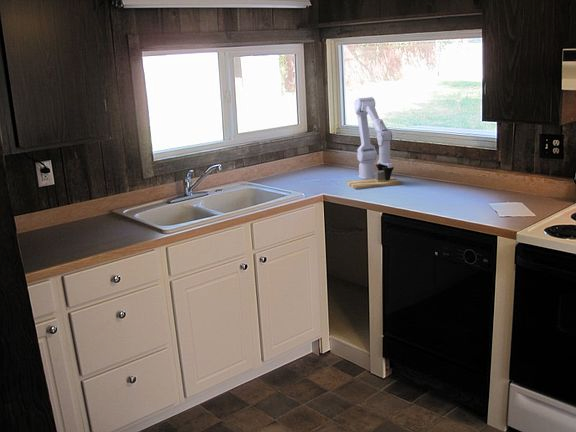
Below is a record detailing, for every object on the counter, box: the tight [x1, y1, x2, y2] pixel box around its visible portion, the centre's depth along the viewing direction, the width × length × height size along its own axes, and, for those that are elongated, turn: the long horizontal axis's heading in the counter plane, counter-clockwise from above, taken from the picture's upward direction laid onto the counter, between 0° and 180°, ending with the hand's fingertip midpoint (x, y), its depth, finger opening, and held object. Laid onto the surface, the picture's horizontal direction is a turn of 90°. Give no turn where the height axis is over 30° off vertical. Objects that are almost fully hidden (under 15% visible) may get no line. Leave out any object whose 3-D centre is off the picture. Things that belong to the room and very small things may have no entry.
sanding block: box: [374, 170, 390, 182], centre depth 333 cm, size 4×7×5 cm, turn 104°
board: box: [346, 176, 403, 190], centre depth 333 cm, size 14×26×2 cm, turn 104°
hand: (384, 178), depth 334 cm, fingers open, 7 cm apart
